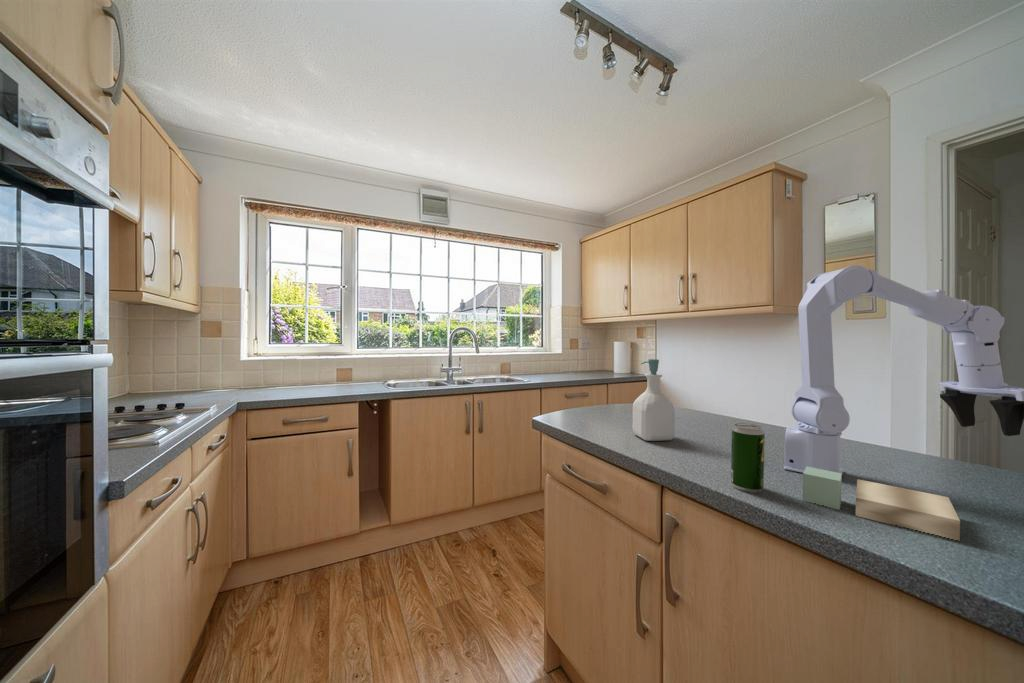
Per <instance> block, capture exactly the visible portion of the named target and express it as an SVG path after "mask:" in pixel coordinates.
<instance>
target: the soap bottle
mask: <svg viewBox="0 0 1024 683" xmlns="http://www.w3.org/2000/svg"><path fill="white" fill-rule="evenodd" d="M659 361H660V360H659V359H657V358H649V359H648V360H647V361H644V362H641V363H640V365H645V364H648V368H649V372H650V373H645V374H644V376H645V377H646V380H647V384H646V385H647V387H646V389H645V391H644V392H643V393H641V394H640V395H639V396H638V397H637V398H636V399H635V400H634V401H633V404H632V432H633V434H634V435H635V436H638V437H639V438H640V439H642V440H644V441H648V442H656V441H657V442H659V441H665V442H666V441H672V440H673V439H674V437H675V421H676V420H675V417H676V415H675V414H676V413H675V412H676V411H675V407H674V405H673V403H672V401H671V400H670V399H669V397H668V396H667V395H666V394H665V393H663V392H662V390H661V388H660V383H661V382H660V381H661V377H663V374H661V373H658V369H659V363H660V362H659Z"/></svg>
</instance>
